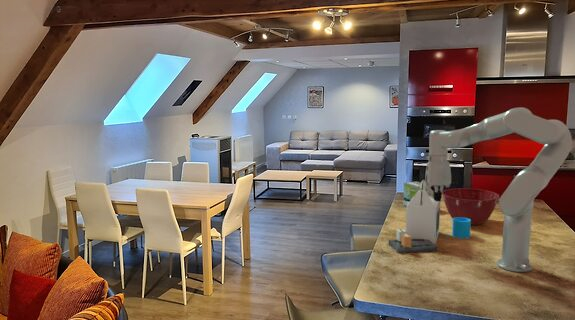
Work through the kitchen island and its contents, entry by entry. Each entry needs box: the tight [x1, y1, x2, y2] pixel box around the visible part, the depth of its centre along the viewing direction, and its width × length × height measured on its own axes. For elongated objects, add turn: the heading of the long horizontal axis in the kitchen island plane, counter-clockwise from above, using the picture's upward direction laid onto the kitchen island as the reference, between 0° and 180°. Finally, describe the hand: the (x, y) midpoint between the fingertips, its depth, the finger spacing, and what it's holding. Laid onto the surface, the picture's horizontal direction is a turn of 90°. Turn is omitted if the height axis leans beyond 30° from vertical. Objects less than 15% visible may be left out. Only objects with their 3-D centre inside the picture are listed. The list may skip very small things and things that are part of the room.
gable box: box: [405, 179, 441, 245], centre depth 221 cm, size 22×13×28 cm, turn 157°
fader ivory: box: [395, 228, 406, 242], centre depth 210 cm, size 4×3×5 cm
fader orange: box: [401, 234, 412, 247], centre depth 202 cm, size 4×3×5 cm
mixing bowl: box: [442, 187, 500, 226], centre depth 248 cm, size 28×28×15 cm
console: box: [388, 238, 439, 254], centre depth 207 cm, size 12×18×2 cm, turn 96°
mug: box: [451, 217, 472, 239], centre depth 225 cm, size 12×8×8 cm
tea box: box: [403, 181, 428, 207], centre depth 280 cm, size 15×10×15 cm, turn 25°
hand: (437, 200), depth 201 cm, fingers closed
